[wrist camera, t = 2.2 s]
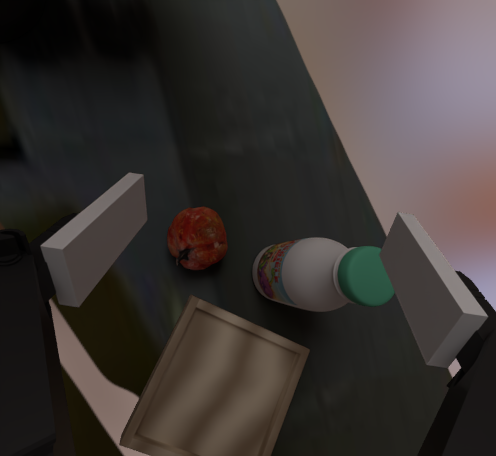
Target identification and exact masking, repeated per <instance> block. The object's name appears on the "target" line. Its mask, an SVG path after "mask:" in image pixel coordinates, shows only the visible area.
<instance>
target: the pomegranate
mask: <svg viewBox="0 0 496 456" xmlns="http://www.w3.org/2000/svg"><path fill="white" fill-rule="evenodd" d="M167 244H168V248H169V250H170V253H171V254H172V255H173V256H174V257H176V264H177V266H178V263H179V262H180V263H181V264H182V265H183V267H184V268H187V269H191V270H201V269H205V268H207V267H208V266H210V265H212V264H214V263H217V262H218V261H219V260H221V259H222V258H223V257H224V256H225V254H226V251H227V240H226V231H225V228H224V225H223V223H222V220H221V218H220V217H219V215H218V214H217V213H216V212H215V211H213V210H212V209H209V208H207V207H198V208H187V209H185V210H183V211H181V212H180V213H179V214H178V215H177V216H176V217H175V218H174V220H173V222H172V225H171V226H170V227H169V229H168V234H167Z"/></svg>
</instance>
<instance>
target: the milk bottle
mask: <svg viewBox="0 0 496 456" xmlns="http://www.w3.org/2000/svg"><path fill="white" fill-rule="evenodd" d="M381 250H382V249H380V248H377V247H373V246H363V247H354V248H349V249H348V248H346V247H345V246H344V245H342V244H340V243H338V242H336V241H334V240H331V239H327V238H306V239H300V240H294V241H289V242H284V243H279V244H275V245H271V246H269V247H266V248H265V249H263V250H262V251H261V252H260V253H259V254H258V256H257V257H256V259H255V261H254V264H253V268H252V277H253V281H254V284H255V286H256V288H257V290H258V291H259V292H260V293H261V294H262V295H263V296H264V297H266V298H268V299H270V300H273V301H276V302H279V303H282V304H286V305H289V306H293V307H297V308H300V309H304V310H309V311H315V312H325V311H331V310H335V309H338V308H340V307H342V306H344V305H345V304H347V303H348V302H350V303H353V304H359V305H363V306H369V307H375V306H380V305H383V304H385V303H386V302H388V301H389V300H390V299H391V298H392V296H393V295H394V293H395V291H394V289H393V286H392V284H391V282H390V279H389V277H388V275H387V272H386V270H385V268H384V266H383V263H382V261H381V259H380V256H379V254H380V252H381Z"/></svg>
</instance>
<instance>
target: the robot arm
mask: <svg viewBox="0 0 496 456" xmlns="http://www.w3.org/2000/svg"><path fill="white" fill-rule="evenodd" d="M44 6H45V0H0V43H4V42H7V41H11V40H13V39H16V38H18V37H20V36H21V35H23V34H25V33H26V32H28V31H29V30H30V29H31V28H32V27H33V26H34V25H35V24H36V23H37V21H38V20H39V18H40V17H41V15H42V13H43V10H44ZM146 221H147V210H146V198H145V186H144V175H142V174H135V173H128V174H127V175H126V176H124V177H123V178H122V179H121V180H120V181H118V182H117V183H116V184H115V185H114V186H112V187H111V188H110V189H109V190H107V191H106V192H105V193H104V194H103V195H101V196H100V197H99V198H98V199H97V200H95V201H94V202H93V203H92V204H90V205H89V206H88V207H87V208H86V209H84V210H83V211H82V212H81V213H80V214H76V213H73V214H71V215H68V216H66V217H63V218H61V219H60V220H59V221H58V222H56V223H55V224H54V225H53V226H51V227H50V228H49V229H47V230H46V232H44V233H42V234H41V235H40V236H38V237H37V238H36V239H35V240H33V241H32V242H31V243H29V244H28V241H27V238H26V235H25V234H24V232H23V231H20V230H17V229H4V230H0V456H76V454H75V448H74V442H73V436H72V430H71V425H70V419H69V413H68V407H67V401H66V395H65V389H64V383H63V377H62V371H61V365H60V359H59V354H58V348H57V342H56V336H55V330H54V324H53V318H52V312H51V306H50V304H49V300H50V298H51V297H52V296H53V295H54V294H55V293H56V296H57V299H58V302H59V304H61V305H67V306H73V307H79V306H80V305H81V304H82V302H83V301H84V300H85V299H86V297H87V296H88V295H89V294H90V292H91V291H92V290H93V288H94V287H95V286H96V285H97V283H98V282H99V281H100V280H101V278H102V277H103V276H104V274H105V273H106V272H107V271H108V269H109V268H110V267H111V266H112V264H113V263H114V262H115V260H116V259H117V258H118V257H119V255H120V254H121V253H122V252H123V250H124V249H125V248H126V247H127V245H128V244H129V243H130V241H131V240H132V239H133V238H134V236H135V235H136V234H137V233H138V231H139V230H140V229H141V227H142V226H143V225H144V224H145V222H146ZM379 256H380V259H381V261H382V263H383V266H384V268H385V270H386V272H387V275H388V277H389V279H390V282H391V284H392V286H393V289H394V291H395V293H396V296H397V298H398V300H399V302H400V305H401V307H402V309H403V312H404V314H405V316H406V319H407V321H408V323H409V326H410V328H411V330H412V332H413V335H414V337H415V339H416V342H417V344H418V346H419V349H420V351H421V353H422V356H423V358H424V360H425V363H426V365H431V366H437V367H443V368H448V367H449V366H450V364H451V363H452V362H453V361H454V360H455V358H456V359H457V360H458V362H459V364H460V366H461V369H460V370H459V371H458V372H457V374H456V375H455V376H454V377H453V378H452V380H451V381H450V382H449V383H448V384H447V387H449V390H448V392H447V394H446V396H445V399H444V401H443V403H442V405H441V407H440V409H439V411H438V413H437V415H436V417H435V419H434V422H433V424H432V426H431V428H430V430H429V432H428V434H427V436H426V438H425V440H424V443H423V445H422V447H421V449H420V451H419V453H418V455H417V456H496V311H495V310H494V309H493V307H492V306H491V305H490V304H489V302H488V301H487V300H485V297H484V296H483V295H482V293H481V292H479V290H478V288H477V287H476V286H475V284H474V283H473V282H472V281H471V280H470V279H469V278H468V277H466V276H465V275H464V274H462V273H461V272H460V271H454V270H453V268H452V267H451V265H450V264H449V262H448V261H447V260H446V258H445V257H444V256H443V254H442V253H441V252H440V251H439V249H438V248H437V246H436V245H435V243H434V242H433V241H432V239H431V238H430V237H429V235H428V234H427V233H426V231H425V230H424V228H423V227H422V226H421V224H420V223H419V222H418V220H417V219H416V218H415V216H414V215H413V214H407V213H400V212H398V213H397V215H396V218H395V220H394V223H393V225H392V227H391V229H390V232H389V234H388V236H387V238H386V241H385V243H384V245H383V248H382V250H381V252H380V254H379Z"/></svg>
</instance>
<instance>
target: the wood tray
mask: <svg viewBox="0 0 496 456" xmlns="http://www.w3.org/2000/svg"><path fill="white" fill-rule="evenodd" d="M309 351H310V350H309V349H307V348H306V347H304V346H302V345H300V344H298V343H295V342H293V341H291V340H289V339H287V338H285V337H282V336H280V335H278V334H276V333H274V332H272V331H269V330H267V329H265V328H263V327H261V326H259V325H256V324H254V323H252V322H250V321H248V320H246V319H243V318H241V317H239V316H237V315H235V314H233V313H230V312H228V311H226V310H224V309H222V308H220V307H217V306H215V305H213V304H211V303H209V302H207V301H204V300H202V299H200V298H198V297H196V296H193V295H190V297H189V299H188V301H187V303H186V305H185V307H184V309H183V311H182V313H181V315H180V317H179V319H178V321H177V323H176V325H175V327H174V329H173V331H172V333H171V335H170V337H169V339H168V341H167V343H166V345H165V347H164V349H163V351H162V353H161V355H160V357H159V360H158V362H157V364H156V366H155V368H154V370H153V372H152V374H151V376H150V378H149V380H148V382H147V384H146V386H145V388H144V390H143V392H142V394H141V396H140V398H139V400H138V402H137V404H136V406H135V408H134V411H133V412H132V414H131V416H130V419H129V420H128V423H127V425H126V427H125V429H124V431H123V433H122V435H121V440H120V444H119V445H121V446H124V447H127V448H130V449H133V450H136V451H139V452H142V453H145V454H148V455H151V456H271V453H272V450H273V448H274V445H275V442H276V440H277V437H278V434H279V432H280V429H281V426H282V424H283V421H284V418H285V416H286V413H287V410H288V408H289V405H290V402H291V400H292V397H293V394H294V391H295V389H296V386H297V383H298V381H299V378H300V375H301V373H302V370H303V367H304V365H305V362H306V359H307V357H308V354H309Z"/></svg>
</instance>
